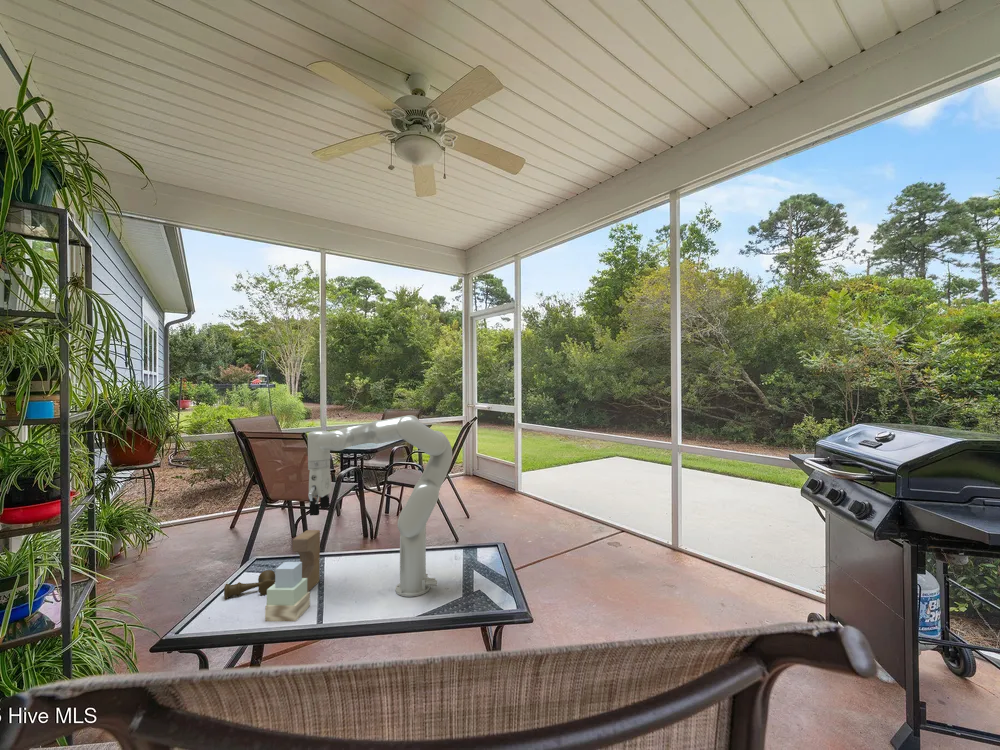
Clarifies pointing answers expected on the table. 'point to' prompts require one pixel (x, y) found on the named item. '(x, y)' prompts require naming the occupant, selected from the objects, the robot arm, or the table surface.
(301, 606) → the lower tower block
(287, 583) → the grey-blue cube
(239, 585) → the kendama
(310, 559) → the decorative block
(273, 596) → the upper tower block
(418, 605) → the table surface
